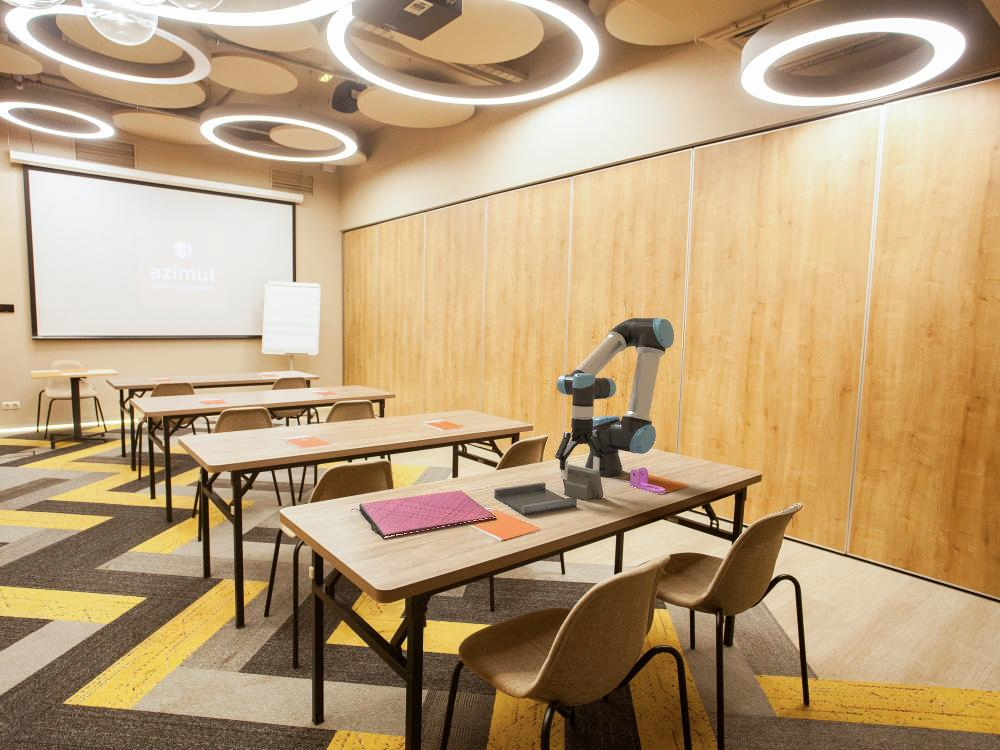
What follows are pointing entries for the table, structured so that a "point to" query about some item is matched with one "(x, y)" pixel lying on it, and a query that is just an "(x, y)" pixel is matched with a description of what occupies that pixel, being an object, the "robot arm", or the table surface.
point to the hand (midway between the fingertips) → (580, 477)
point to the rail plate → (533, 499)
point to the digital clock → (583, 483)
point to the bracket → (643, 481)
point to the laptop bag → (422, 512)
